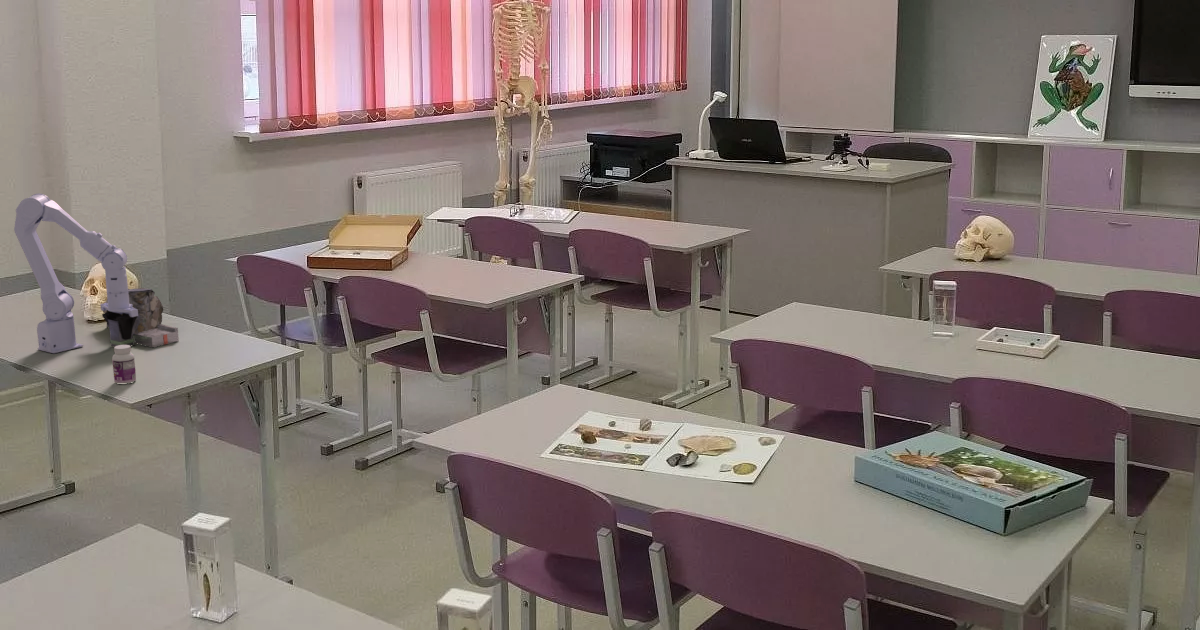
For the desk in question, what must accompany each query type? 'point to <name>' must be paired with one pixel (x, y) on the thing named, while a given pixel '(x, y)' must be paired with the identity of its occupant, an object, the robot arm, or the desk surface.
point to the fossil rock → (145, 309)
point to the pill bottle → (123, 364)
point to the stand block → (157, 336)
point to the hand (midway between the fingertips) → (121, 337)
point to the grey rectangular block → (118, 334)
